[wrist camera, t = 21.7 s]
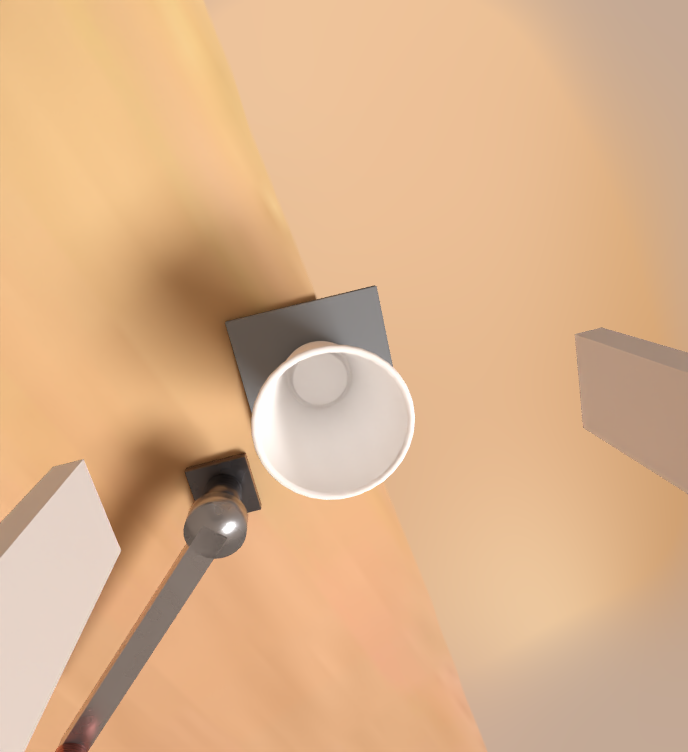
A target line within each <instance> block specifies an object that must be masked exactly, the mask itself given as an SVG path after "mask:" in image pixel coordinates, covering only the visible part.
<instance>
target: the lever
mask: <svg viewBox="0 0 688 752" xmlns="http://www.w3.org/2000/svg"><path fill="white" fill-rule="evenodd" d="M247 522H248V514H247V510H246V508H245V506H244V504H243V503H242V502H241V501H240V500H239V499H238V498H237V497H235V496H233V495H231V494H228V493H224V492H212V493H208V494H205V495H203V496H201V497H200V498H198V499H197V500H196V501H195V502H194V503H193V504H192V506H191V508H190V510H189V513H188V516H187V519H186V522H185V525H184V538H185V541H186V545H185V546H184V548H183V550H182V551H181V553H180V554H179V556H178V557H177V559H176V561H175V562H174V564H173V565H172V567H171V568H170V570H169V572H168V573H167V575H166V576H165V578H164V579H163V581H162V582H161V584H160V586H159V587H158V589H157V590H156V592H155V593H154V595H153V597H152V598H151V600H150V601H149V603H148V604H147V606H146V607H145V609H144V611H143V612H142V614H141V615H140V617H139V618H138V620H137V622H136V623H135V625H134V626H133V628H132V629H131V631H130V632H129V634H128V636H127V637H126V639H125V640H124V642H123V643H122V645H121V647H120V648H119V650H118V651H117V653H116V654H115V656H114V658H113V659H112V661H111V662H110V664H109V665H108V667H107V668H106V670H105V672H104V673H103V675H102V676H101V678H100V679H99V681H98V683H97V684H96V686H95V687H94V689H93V690H92V692H91V693H90V695H89V697H88V698H87V700H86V701H85V703H84V704H83V706H82V708H81V709H80V711H79V712H78V714H77V715H76V717H75V718H74V720H73V722H72V723H71V725H70V726H69V728H68V729H67V731H66V733H65V734H64V736H63V737H62V739H61V741H60V744H59V746H58V748H57V749H56V751H55V752H88V750H89V749H90V747H91V746H92V744H93V743H94V741H95V740H96V738H97V737H98V735H99V734H100V732H101V731H102V729H103V727H104V726H105V724H106V723H107V721H108V720H109V718H110V717H111V715H112V714H113V712H114V711H115V709H116V708H117V706H118V705H119V703H120V701H121V700H122V698H123V697H124V695H125V694H126V692H127V691H128V689H129V688H130V686H131V685H132V683H133V682H134V680H135V679H136V677H137V675H138V674H139V672H140V671H141V669H142V668H143V666H144V665H145V663H146V662H147V660H148V659H149V657H150V656H151V654H152V653H153V651H154V649H155V648H156V646H157V645H158V643H159V642H160V640H161V639H162V637H163V636H164V634H165V633H166V631H167V630H168V628H169V627H170V625H171V624H172V622H173V620H174V619H175V617H176V616H177V614H178V613H179V611H180V610H181V608H182V607H183V605H184V604H185V602H186V601H187V599H188V598H189V596H190V594H191V593H192V591H193V590H194V588H195V587H196V585H197V584H198V582H199V581H200V579H201V578H202V576H203V575H204V573H205V572H206V570H207V568H208V567H209V565H210V564H211V562H212V561H213V559H216V558H223V557H227V556H229V555H231V554H233V553H234V552H236V551H237V550H238V549H239V548H240V547H241V546H242V544H243V542H244V540H245V538H246V532H247Z"/></svg>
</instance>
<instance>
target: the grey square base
mask: <svg viewBox="0 0 688 752" xmlns="http://www.w3.org/2000/svg"><path fill="white" fill-rule="evenodd" d="M185 474H186V477H187V480H188V483H189V486H190V489H191V491H192V494H193V497H194V500H195V501H196V500H197V499H198V498H200V497H201V496H203V495H205V494H208V493H212V492H224V493H228V494H231V495H233V496H235V497H237V498H238V499H239V500H240V501H241V502H242V503H243V504H244V506H245V508H246V510H247V513H249V512H252V511H256V510H260V509H261V502H260V498H259V495H258V492H257V489H256V485H255V482H254V479H253V476H252V472H251V469H250V466H249V462H248V459H247V456H246V453H243V454H239V455H235V456H231V457H227V458H224V459H220V460H216V461H212V462H208V463H204V464H200V465H196V466H193V467H189V468H186V471H185Z"/></svg>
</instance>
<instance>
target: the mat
mask: <svg viewBox="0 0 688 752" xmlns="http://www.w3.org/2000/svg"><path fill="white" fill-rule="evenodd" d="M225 324H226V328H227V331H228V334H229V338H230V341H231V345H232V348H233V351H234V355H235V358H236V362H237V365H238V368H239V372H240V375H241V378H242V382H243V385H244V389H245V392H246V395H247V399H248V402H249V406H250V409H251V412H252V413H253V407H254V403H255V401H256V398H257V396H258V393H259V391H260V389H261V387H262V386H263V384H264V383H265V381H266V380H267V378H268V377H269V375H270V374H271V373H272V372H273V371H275V370H276V369H277V368H278V367H279V366H280V365H281V364H282V363H283V362H285V361H286V360H287V358H288V357H289V356H290V355H291V354H292V353H293V352H294V351H295V350H296V349H297V348H299V347H300V346H302V345H304V344H307V343H309V342H314V341H327V342H332V343H335V344H338V345H348V346H353V347H358V348H362V349H364V350H367V351H369V352H372V353H374V354H376V355H378V356H379V357H381V358H382V359H384V360H385V361H386V362H388V363H389V364H390V365H391V366H392V367H393V365H392V360H391V356H390V350H389V346H388V341H387V336H386V331H385V326H384V321H383V316H382V311H381V306H380V301H379V296H378V292H377V287H376V286H371V287H366V288H362V289H358V290H354V291H350V292H346V293H342V294H338V295H334V296H329V297H325V298H321V299H317V300H313V301H309V302H305V303H300V304H296V305H292V306H288V307H284V308H280V309H276V310H272V311H267V312H263V313H259V314H255V315H251V316H247V317H243V318H238V319H234V320H230V321H226V322H225Z"/></svg>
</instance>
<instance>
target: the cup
mask: <svg viewBox="0 0 688 752" xmlns="http://www.w3.org/2000/svg"><path fill="white" fill-rule="evenodd" d="M414 421H415V414H414V407H413V401H412V398H411V395H410V392H409V390H408V387H407V385H406V384H405V382H404V381H403V379H402V378H401V376H400V374H399V373H398V372H397V371H396V370H395V369H394V368H393V367H392V366H391V365H390V364H389V363H388V362H386V361H385V360H384V359H382V358H381V357H379V356H378V355H376V354H374V353H372V352H369V351H367V350H364V349H362V348H358V347H353V346H348V345H338V344H335V343H332V342H327V341H314V342H309V343H307V344H304V345H302V346H300V347H299V348H297V349H296V350H295V351H294V352H293V353H292V354H291V355H290V356H289V357H288V358H287V360H286V361H285V362H283V363H282V364H281V365H280V366H279V367H278V368H277V369H276V370H275V371H273V372H272V373H271V374H270V375H269V377H268V378H267V380H266V381H265V383H264V384H263V386H262V387H261V389H260V391H259V393H258V396H257V398H256V401H255V403H254V407H253V413H252V418H251V429H252V438H253V442H254V447H255V450H256V452H257V454H258V456H259V459H260V461H261V463H262V464H263V466H264V467H265V468H266V469H267V471H268V472H269V473H270V475H271V476H272V477H274V478H275V479H276V480H277V481H278V482H279V483H281V484H282V485H283V486H285V487H287V488H288V489H290V490H292V491H294V492H295V493H298V494H301V495H304V496H307V497H310V498H317V499H324V500H329V499H343V498H348V497H352V496H356V495H359V494H361V493H364V492H366V491H368V490H371V489H372V488H374V487H375V486H377V485H378V484H380V483H382V482H383V481H384V480H385V479H386V478H387V477H388V476H390V475H391V474H392V473H393V472H394V471H395V469H396V468H397V467H398V465H399V464H400V463H401V461H402V460H403V459H404V457H405V455H406V452H407V450H408V448H409V446H410V443H411V440H412V436H413V432H414Z"/></svg>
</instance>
